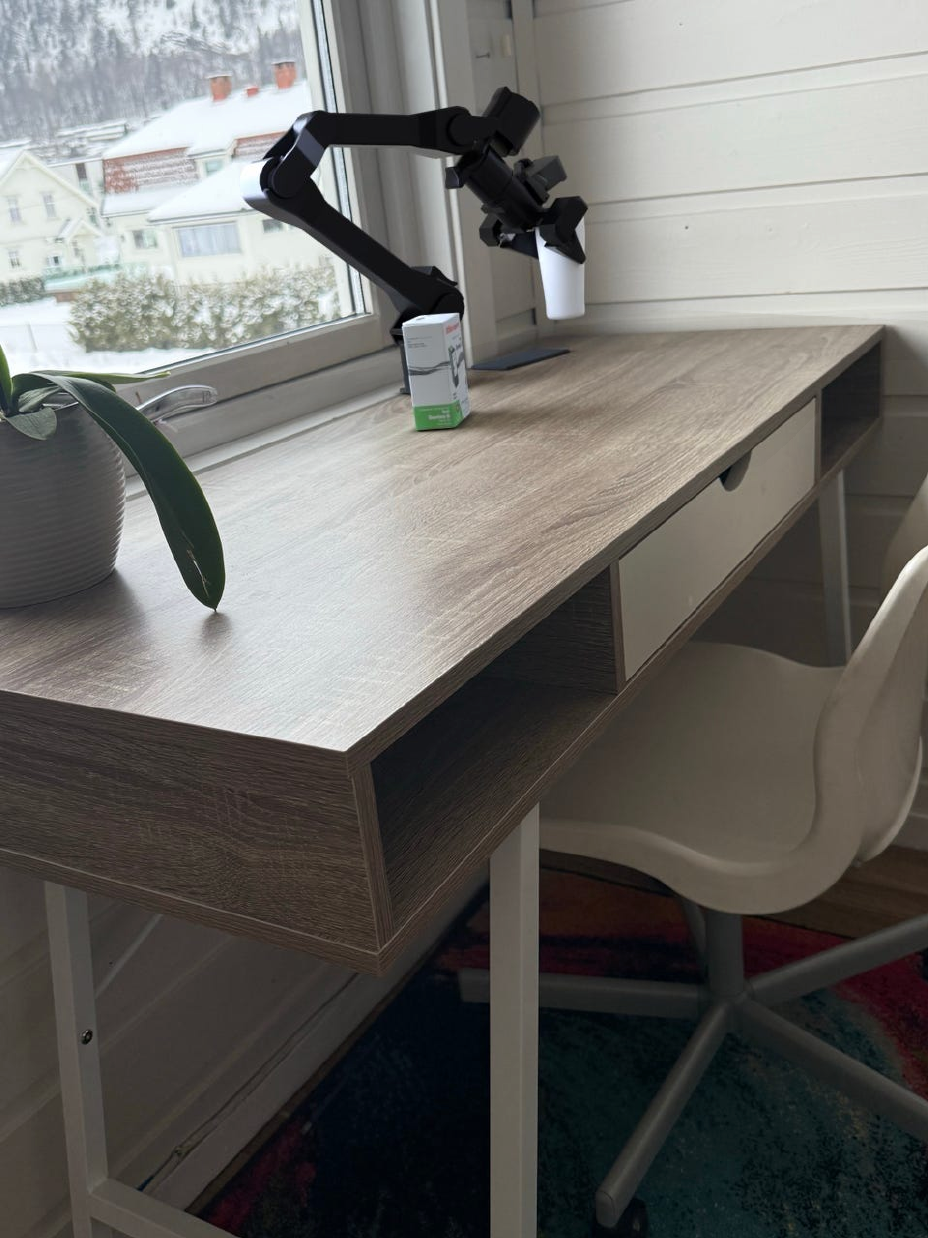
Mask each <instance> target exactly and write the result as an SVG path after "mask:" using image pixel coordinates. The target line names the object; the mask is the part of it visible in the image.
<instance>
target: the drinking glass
mask: <svg viewBox="0 0 928 1238" xmlns="http://www.w3.org/2000/svg"><path fill="white" fill-rule="evenodd" d="M542 207H543V209H544V208H550V206H542ZM575 230H576V233H577V236H578V239H579V241H580V244H581V246H582V249H583V251H584V254H585V252H586V251H585V250H586V249H585V248H586V239H585V238H586V232H585V230H586V228H585V215H584V216H583V218H582V219H581V221H580V223H579V224H578V226H577V227H576V229H575ZM535 234H536V243H537V250H538V256H539V260H538V261H539V268H540V274H541V280H542V281H541V282H542V286H543V287H542V288H543V294H544V299H545V309H546V311H545V312H546V317H547V319H548V320H550V321H562V320H571V319H572V320H573V319H580V318H582V317H583V316H584V315H585V314H586V313H585V312H586V309H585V307H586V306H585V262H584V263H583V264H578V263H576V262H574V261H572V260H570V259H568V258H566V257H564V256H562V255H560V254H557V253H555V252H553V251H551V250H549V249H547V248H545V247H544V245H545V243H546V241H544V240H543V239H542V238H541V237H540V235H539V227H536V228H535ZM585 255H586V254H585Z"/></svg>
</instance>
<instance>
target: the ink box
mask: <svg viewBox="0 0 928 1238" xmlns="http://www.w3.org/2000/svg"><path fill="white" fill-rule="evenodd" d="M402 329H403V336H404V344H405V345H404V346H405V351H406V359H407V366H408V373H409V382H410V390H411V394H410V397H411V404H412V409H413V418H414V419H413V420H414V426H415V430H416V431H422V430H423V431H424V430H437V429H438V430H439V429H440V430H441V429H452V428H457V427H458V425H460V424H461V422H462V421H464V419H466V417H468V416H469V414H470V413H471V406H470V400H469V399H470V398H469V388H468V381H467V372H466V364H465V356H464V355H465V354H464V348H463V338H462V329H461V322H460V319H459V313H451V314H437V315H423V316H418V317H416V318H414V319H411V320H409V321H407V322H405V323H403V326H402Z"/></svg>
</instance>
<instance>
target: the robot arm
mask: <svg viewBox="0 0 928 1238" xmlns="http://www.w3.org/2000/svg"><path fill="white" fill-rule="evenodd" d="M540 120H541V112H540V110H539V108H538V106H537V105H536V104H535V103H534V102H533V100H529V99H528V98H526V97H525V96H523V95H522V94H520V93H517V92H514V91H512V90H511V89H510V88H509V87H508V85H507V86H501V87H497V88H496V89H495V91H494V92H493V94H492V97H491V99H490V101H489V103H488V105H487V106H486V108H485V110H484V111H483V113H482V114H481V115H472V114H471V112H470V110H469V109H468V108H466V107H464V106H462V105H461V106H460V105H453V106H448V107H443V108H437V109H432V110H427V111H422V112H417V113H411V114H393V113H392V114H390V113H388V114H387V113H357V112H355V113H354V112H329V111H326V110H323V109H317V110H312V111H308V112H304V113H301V114H300V115H298V116H297V117H296V119H295V120H294V122H293V124H291V126H290V127H289V128H288V129H287V131H286V132H284V133H283V134H282V136H281V137H280V138H279V139H278V140H277V141H276V142H275V143H273V145H271V146H270V147H269V148H268V149H267V150H266V151H265V152H264V154H263V155H262V156H261V157H260V158H259V159H257V160H253V161H252V162H250V163H248V164H247V165H246V166H245V167H244V168H243V170H242V171H241V174H240V176H239V177H240V178H239V179H240V180H239V188H240V192H241V198H242V199H243V201H244V202H245V203H246V204H247V205H248V206H249V207H250V208H252V209H253V210H256V211H257V212H259V213H261V214H263V215H266V216H267V217H269V218H272V219H274V220H276V221H278V222H281V223H284V224H286V225H288V226H292V227H295V228H297V229H299V230H301V231H303V232H304V233H306V235H309V236H310V237H311V238H313V240H315V241H316V242H318V243H319V244H321V245H322V246H323V247H324V248H326V249H327V250H329V251H330V252H331V253H333V254H334V255H336V256H337V257H338V258H339V259H341V260H342V261H343V262H344V263H346V264H347V265H348V266H350V267H351V268H353V269H354V270H356V271H357V272H358V273H360V274H361V275H362V276H363V277H364V278H366V279H367V280H369V281H370V282H371V283H373V284H374V285H376V287H378V288H380V289H381V290H382V291H384V293H386V295H387V296H388V297H389V300H390V301H391V303H392V305H393V307H394V308H395V310H396V311H397V312H398V313H399V314H398V315H397V317H396V319H395V320H394V322H393V323H392V325H391V327H390V328H389V330H388V332H389V335H390V336H391V337H390V338H391V339H392V341H393V344H394V345H395V346H396V345H397V346H399V345H400V346H399V352H400V360H401V367H402V374H403V382H404V387H400V388H399V393H404V394H409V395H411V390H410V382H409V373H408V366H407V359H406V351H405V344H404V336H403V329H402V326H403V323H405V322H407V321H409V320H411V319H414V318H416V317H418V316H423V315H437V314H451V313H459V319H460V323H461V322H462V320H463V318H464V315H465V306H466V305H465V296H464V295H463V293H462V292H461V291H460V290H459V289H458V288H457V286H458V284H459V282H458V281H455V280H452V279H451V278H448V277H447V276H446V275H445V274H444V272H443V271H442V270H441V269H439V267H437V266H436V265H411V266H410V265H408V264H407V263H406V262H404V261H403V260H402V259H401V258H400V257H398V256H397V255H396V254H394V253H393V252H391V250H389V249H388V248H386V247H385V245H383V244H381V243H380V242H378V241H377V240H376V239H375V238H373V237H372V236H371V235H370V234H369V233H367V232H366V231H364V229H362V228H361V227H360V226H358V225H357V224H356V223H354V222H353V221H352V220H351V219H349V218H348V217H346V216H345V215H344V214H343V213H341V212H340V211H339V210H337V208H335V207H333V205H331V204H330V203H329V202H328V201H327V200H326V199H325V197H324V195H323V194H322V192H321V190H320V188H319V186H318V184H317V183H316V181H315V180H314V179H313V177H312V175H313V174H314V173H315V172H316V170H317V169H318V167H319V165H320V163H321V161H322V158H323V157H324V154H325V152H326V151H327V149H328V148H337V149H338V148H339V149H340V148H342V149H343V148H346V149H350V148H351V149H397V150H402V151H405V152H408V153H410V154H412V155H416V156H420V157H424V158H429V159H433V160H437V159H439V160H440V159H444V158H445V159H446V158H451V157H458V159H457V160H456V162H455V163H454V165H453V166H447V167H445V168H444V173H445V178H444V180H445V181H444V188H445V189H446V190H447V191H448V190H449V191H450V190H457V189H458V190H459V189H462V188H464V186H465V187H466V188H467V189H468V190H469V191H470V192H471V193H472V194H473V195H474V196H475V197H476V198H477V199H478V200H479V202H481V203H482V205H481V207H480V210H481V211H482V213H484V215H486V217H485V218H484V219H483V221H482V223H481V224H480V226H479V228H478V234H479V235H478V236H479V239H480V240H481V241H482V242H483V243H484V244H485V246H487V247H488V248H489V247H490V248H491V247H492V248H493V247H499V248H500V249H501V250H505V251H509V252H512V253H515V254H518V255H522V256H524V257H528V258H531V259H533V260H536V261H539V256H538V250H537V243H536V234H535V228H536V227H539V235H540V237H541V238H542V239H543V240H544V241H546V243H545V245H544V247H545V248H547V249H549V250H551V251H553V252H555V253H557V254H560V255H562V256H564V257H566V258H568V259H570V260H572V261H574V262H576V263H578V264H583V263H584V264H585V262H586V260H587V257H586V254H584V251H583V249H582V246H581V244H580V241H579V239H578V236H577V233H576V230H575V229H576V227H577V226H578V224H579V223H580V221H581V219H582V218H583V216H584V217H585V214H586V213H587V211H588V210H589V205H588V204H587V202H585V200H584V199H583V198H582V197H581V195H570V196H560V197H555V198H554V200H553V202H551V204H550V206H549V207H550V208H544V209H543V207H544V206H543V205H544V204H546V203H547V202H548V201H549V199H550V198H551V195H550V193H548V192H549V191H551V190H552V189H553V188H554V187H556V186H557V185H559V184H560V183H561V182H565V181H566V180H567V179H568V175H567V172H566V169H565V168H564V166H563V163H562V160H561V159H560V156H559V155H558V154H555V155H548V156H542V157H540V158H535V159H533V160H531V159H530V158H529V157H523V158H519V159H517V160H516V161H515V162H514V163H513V168H512V167H511V166H510V165H509V163H507V162H506V161H505V159H506V158H508V157H516V156H518V155H519V153H520V152H521V150H522V149H523V147H524V145H525V144H526V142H527V141H528V139H529V138H530V136H531V134H532V132H533V131H534V130H535V128H536V127H537V124H538V123H539V122H540Z"/></svg>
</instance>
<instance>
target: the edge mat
mask: <svg viewBox="0 0 928 1238" xmlns="http://www.w3.org/2000/svg"><path fill="white" fill-rule="evenodd" d="M569 352H570V349H569V348H531V349H528V350H524V351H520V352H517V353H513V354H510V355H506V356H503V357H499V358H495V359H492V360H488V361H484V362H480V363H478V364H477V363H476V364H474V365H471V366H470V369H471V370H493V371H496V370H498V371H508V370H511V369H515V368H518V367H519V368H520V367H522V366H526V365H530V364H532V363H535V362H539V361H542V360H543V361H544V360H546V359H549V358H554V357H557V356H560V355H563V354H567V353H569Z"/></svg>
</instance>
